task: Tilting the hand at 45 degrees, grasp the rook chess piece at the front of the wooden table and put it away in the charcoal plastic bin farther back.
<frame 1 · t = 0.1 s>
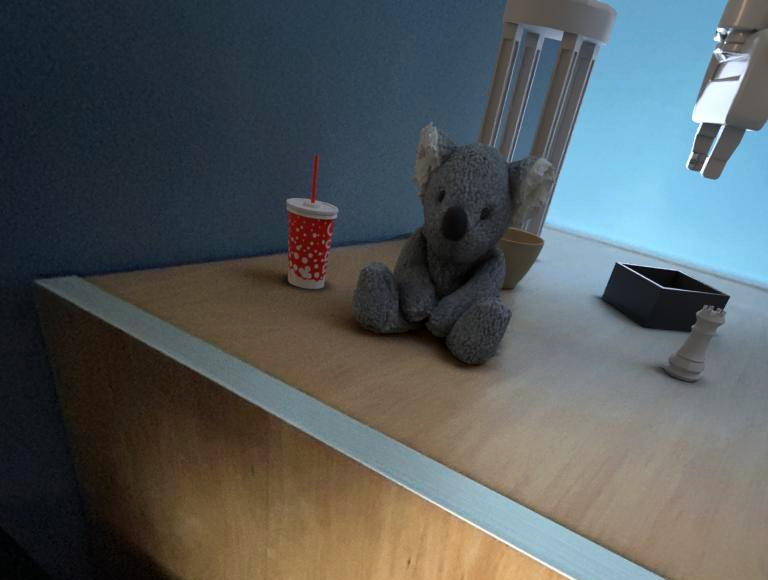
hand: (699, 174, 65), 20 cm above the table, tool pointing down, fingers open, 8 cm apart
beverage cup: (306, 284, 72), on the table
rook chess piece: (679, 375, 69), on the table
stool: (493, 255, 103), on the table
koala plush: (436, 329, 67), on the table
bin: (654, 315, 89), on the table
flower pot: (497, 284, 88), on the table
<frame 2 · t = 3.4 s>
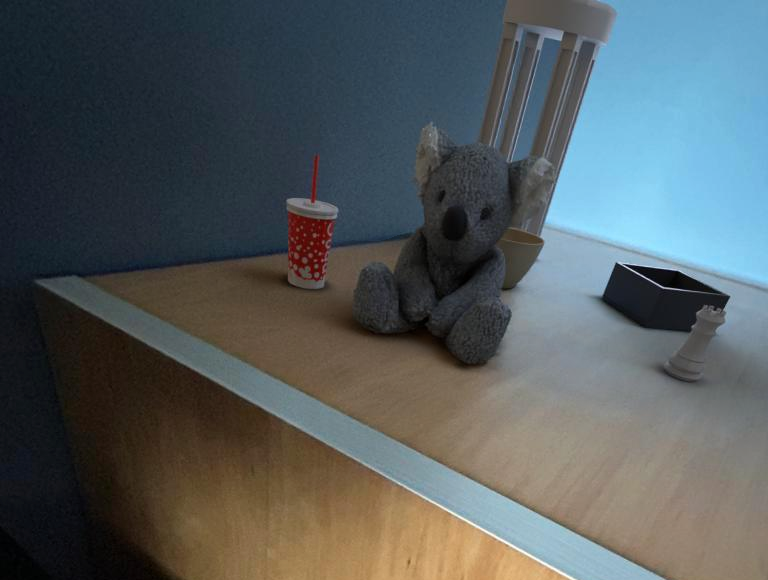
nothing on the table moved.
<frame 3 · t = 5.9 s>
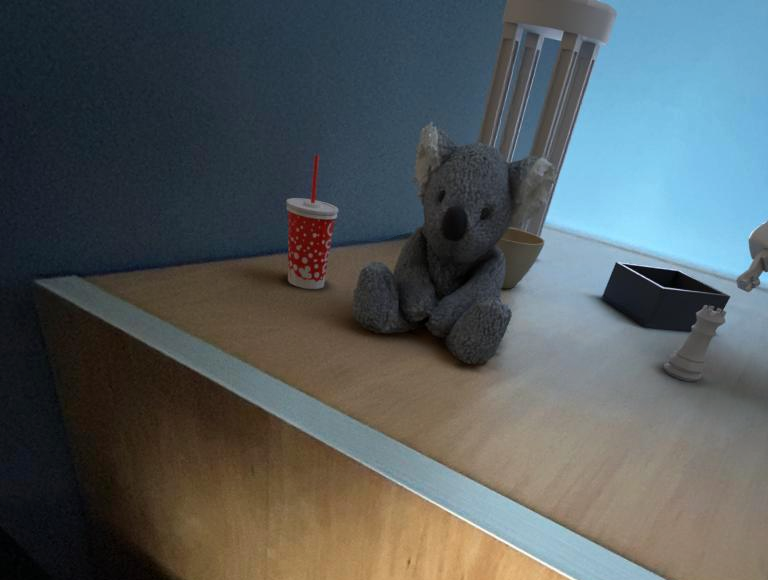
nothing on the table moved.
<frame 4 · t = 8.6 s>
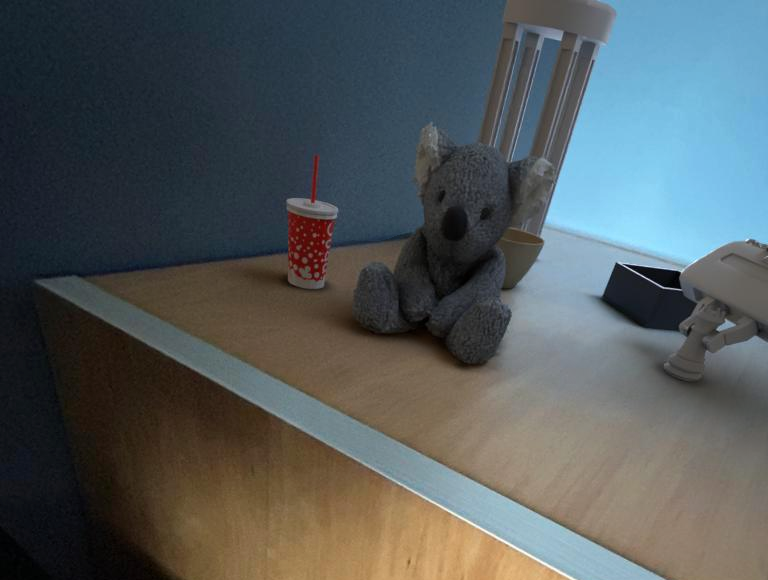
hand: (694, 339, 66), 4 cm above the table, tool tilted 45°, fingers closed on rook chess piece, 3 cm apart
rook chess piece: (679, 375, 69), on the table, touching gripper
everything else where it was.
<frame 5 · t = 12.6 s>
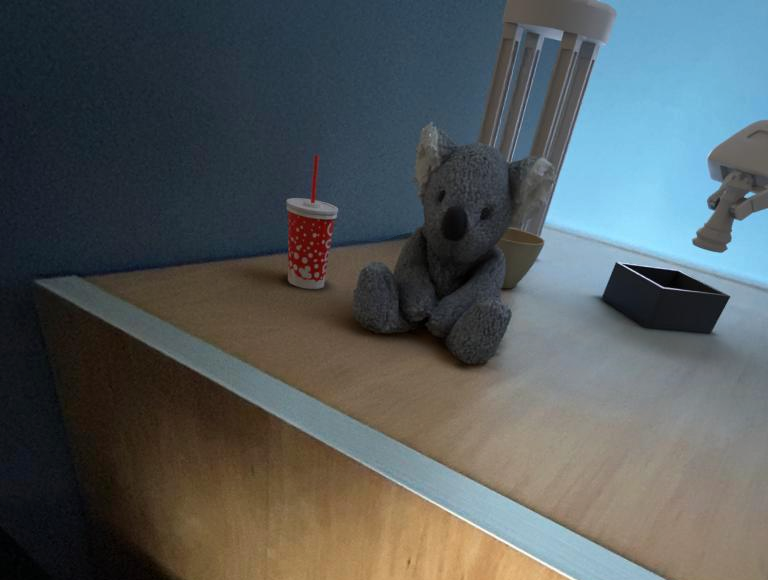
hand: (722, 210, 70), 16 cm above the table, tool tilted 45°, fingers closed on rook chess piece, 3 cm apart
rook chess piece: (707, 249, 73), point 12 cm above the table, touching gripper
everything else where it was.
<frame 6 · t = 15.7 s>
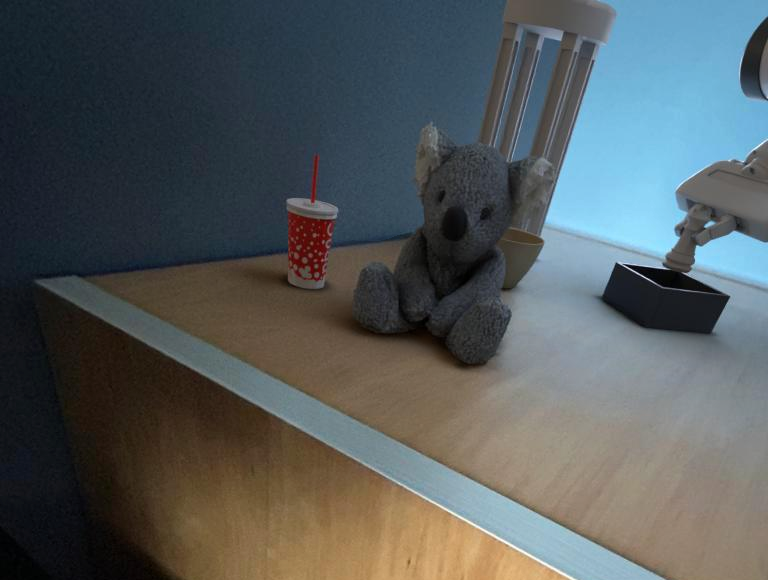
hand: (686, 237, 82), 11 cm above the table, tool tilted 45°, fingers closed on rook chess piece, 3 cm apart
rook chess piece: (674, 270, 85), point 7 cm above the table, touching gripper
everything else where it was.
when the fingers open (8 cm above the table, at t = 17.0 s): rook chess piece drops 2 cm, resting on bin.
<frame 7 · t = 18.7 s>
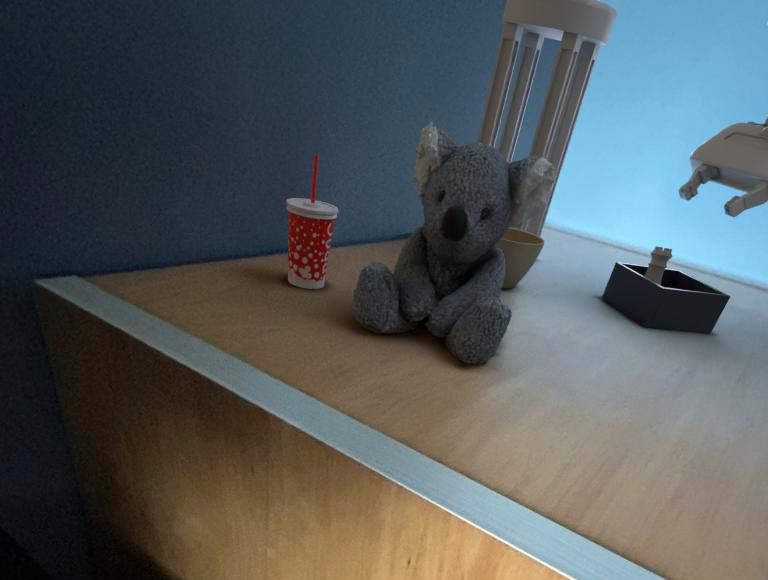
hand: (704, 203, 78), 16 cm above the table, tool tilted 45°, fingers open, 8 cm apart
rook chess piece: (643, 303, 91), point 1 cm above the table, touching bin
everything else where it was.
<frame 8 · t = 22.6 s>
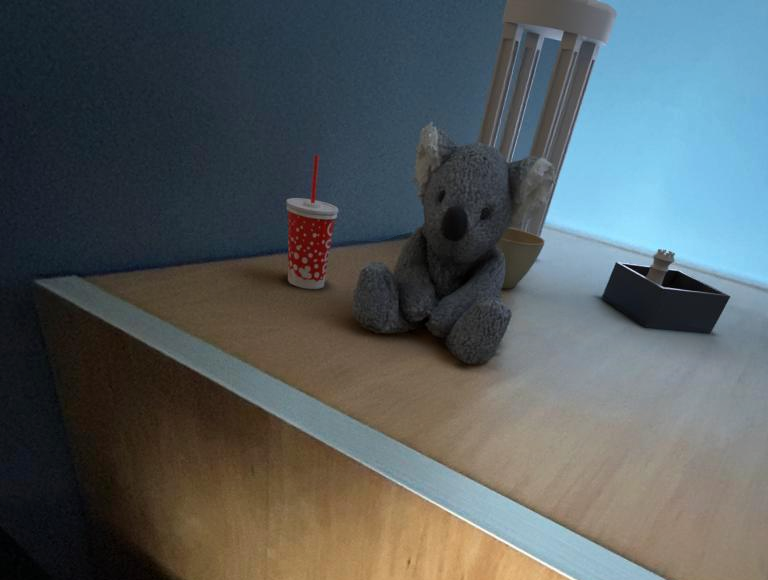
nothing on the table moved.
at the end: rook chess piece inside the target area in the bin (2.9 cm from its centre), point 0.4 cm above the bin's base; the gripper is holding nothing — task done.
